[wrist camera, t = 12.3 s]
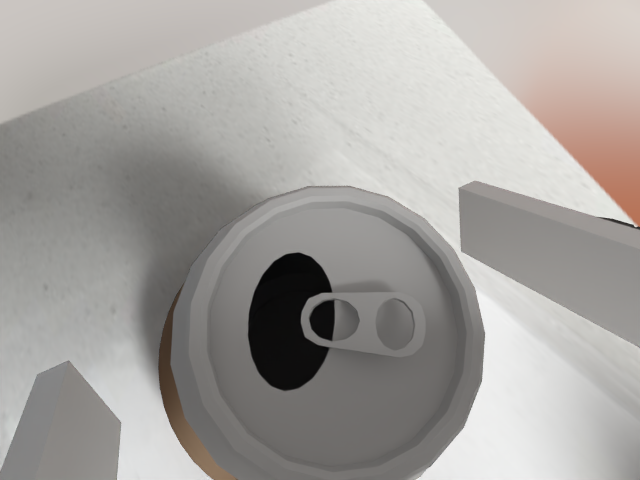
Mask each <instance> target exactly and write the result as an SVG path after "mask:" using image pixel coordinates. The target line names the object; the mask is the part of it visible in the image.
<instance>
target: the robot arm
mask: <svg viewBox="0 0 640 480" xmlns="http://www.w3.org/2000/svg"><path fill="white" fill-rule="evenodd" d="M459 211H460V238H461V252H463V253H465V254H467V255H469V256H471V257H473V258H474V259H476V260H478V261H480V262H482V263H484V264H486V265H487V266H489V267H491V268H493V269H495V270H497V271H499V272H500V273H502V274H504V275H506V276H508V277H510V278H512V279H513V280H515V281H517V282H519V283H521V284H523V285H525V286H526V287H528V288H530V289H532V290H534V291H536V292H538V293H539V294H541V295H543V296H545V297H547V298H549V299H551V300H552V301H554V302H556V303H558V304H560V305H562V306H564V307H565V308H567V309H569V310H571V311H573V312H575V313H577V314H578V315H580V316H582V317H584V318H586V319H588V320H590V321H591V322H593V323H595V324H597V325H599V326H601V327H603V328H604V329H606V330H608V331H610V332H612V333H614V334H616V335H617V336H619V337H621V338H623V339H625V340H627V341H629V342H630V343H632V344H634V345H636V346H638V347H640V227H634V225H632V224H628V223H625V222H621V221H618V220H614V219H610V218H602V217H595V216H592V215H588V214H585V213H582V212H578V211H575V210H572V209H568V208H565V207H561V206H558V205H555V204H551V203H548V202H545V201H541V200H538V199H535V198H531V197H528V196H525V195H521V194H518V193H515V192H511V191H508V190H505V189H501V188H498V187H495V186H491V185H488V184H485V183H481V182H478V181H473V182H471V183H469V184H466V185H464V186H462V187H460V188H459ZM120 432H121V422H120V420H119V419H118V418H117V417H116V416H115V414H114V413H113V412H112V411H111V410H110V409H109V407H108V406H107V405H106V404H105V403H104V401H103V400H102V399H101V398H100V397H99V396H98V394H97V393H96V392H95V391H94V390H93V388H92V387H91V386H90V385H89V384H88V382H87V381H86V380H85V379H84V378H83V377H82V375H81V374H80V373H79V372H78V371H77V369H76V368H75V367H74V366H73V365H72V364H71V362H70V361H67V362H65V363H62V364H60V365H58V366H56V367H53V368H51V369H49V370H47V371H44V372H42V373H40V374H38V375H37V377H36V379H35V382H34V385H33V387H32V390H31V392H30V395H29V398H28V400H27V403H26V406H25V408H24V411H23V414H22V416H21V419H20V421H19V424H18V427H17V429H16V432H15V435H14V437H13V440H12V442H11V445H10V448H9V450H8V453H7V456H6V458H5V461H4V464H3V466H2V469H1V471H0V480H117V469H118V457H119V444H120Z"/></svg>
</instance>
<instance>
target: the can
mask: <svg viewBox="0 0 640 480" xmlns="http://www.w3.org/2000/svg"><path fill="white" fill-rule="evenodd" d="M484 341H485V331H484V327H483V322H482V318H481V313H480V309H479V304H478V300H477V296H476V291H475V288H474V286H473V284H472V282H471V280H470V278H469V277H468V275H467V273H466V271H465V269H464V267H463V265H462V264H461V262H460V260H459V258H458V256H457V254H456V252H455V251H454V249H453V248H452V247H451V246H450V245H449V244H448V243H447V242H446V241H445V239H444V238H443V237H442V236H441V235H440V234H439V233H438V232H437V231H436V230H435V229H434V228H433V227H432V226H431V225H430V224H429V223H428V222H427V221H426V220H425V219H424V218H423V217H421V216H420V215H418V214H416V213H415V212H413V211H411V210H410V209H408V208H406V207H405V206H403V205H401V204H400V203H398V202H396V201H395V200H393V199H391V198H390V197H388V196H384V195H380V194H377V193H373V192H369V191H366V190H362V189H359V188H355V187H351V186H307V187H304V188H301V189H298V190H294V191H291V192H288V193H285V194H281V195H278V196H275V197H272V198H268V199H267V200H265V201H264V202H262V203H259V204H257V205H255V206H254V207H252V208H251V209H249V210H248V211H246V212H245V213H243V214H242V215H240V216H239V217H237V218H236V219H234V220H233V221H231V222H230V223H229V224H227V225H226V226H224V227H223V228H221V229H220V230H219V232H218V233H217V234H216V235H215V237H214V238H213V239H212V240H211V242H210V243H209V244H208V245H207V247H206V248H205V249H204V250H203V252H202V253H201V254H200V255H199V257H198V258H197V259H196V260H195V262H194V263H193V264H192V265H191V268H190V271H189V273H188V276H187V278H186V281H185V283H184V286H183V289H182V291H181V294H180V296H179V299H178V301H177V304H176V306H175V309H174V312H173V329H172V346H171V362H170V365H171V368H172V372H173V376H174V380H175V383H176V387H177V391H178V394H179V398H180V402H181V406H182V409H183V413H184V417H185V419H186V420H187V422H188V423H189V425H190V426H191V428H192V429H193V430H194V432H195V433H196V435H197V436H198V438H199V439H200V441H201V442H202V444H203V445H204V446H205V448H206V449H207V451H208V452H209V454H210V455H211V457H212V458H213V460H214V461H215V463H216V464H217V465H218V466H220V467H221V468H222V469H224V470H225V471H227V472H228V473H230V474H231V475H232V476H234V477H235V478H237V479H238V480H415V479H417V478H419V477H420V476H421V475H422V474H423V473H424V472H425V471H426V469H427V468H429V467H430V466H431V465H432V464H433V463H434V462H435V461H436V460H437V458H438V457H439V456H440V455H441V454H442V452H443V451H444V450H445V449H446V448H447V447H448V445H449V444H450V443H451V442H452V441H453V439H454V438H455V437H456V436H457V435H458V434H459V432H460V431H461V430H462V429H463V428H464V426H465V423H466V420H467V418H468V415H469V413H470V410H471V408H472V405H473V403H474V400H475V397H476V395H477V392H478V390H479V387H480V385H481V382H482V371H483V356H484Z"/></svg>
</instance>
